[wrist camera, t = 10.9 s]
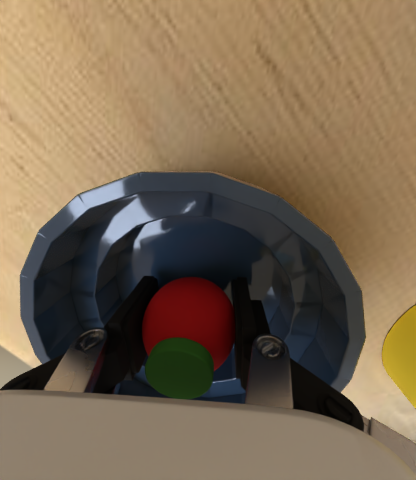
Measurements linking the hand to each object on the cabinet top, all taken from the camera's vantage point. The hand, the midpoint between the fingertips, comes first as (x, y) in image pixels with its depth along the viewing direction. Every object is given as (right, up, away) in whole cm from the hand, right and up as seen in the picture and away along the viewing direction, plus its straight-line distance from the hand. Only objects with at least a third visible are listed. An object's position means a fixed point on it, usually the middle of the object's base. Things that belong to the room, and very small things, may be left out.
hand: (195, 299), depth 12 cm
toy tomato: (0, 0, 0) cm, 0 cm away
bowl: (0, +1, +1) cm, 2 cm away
